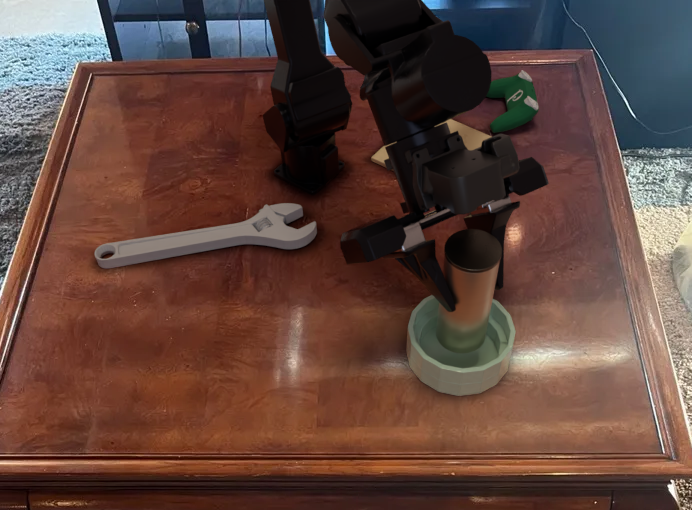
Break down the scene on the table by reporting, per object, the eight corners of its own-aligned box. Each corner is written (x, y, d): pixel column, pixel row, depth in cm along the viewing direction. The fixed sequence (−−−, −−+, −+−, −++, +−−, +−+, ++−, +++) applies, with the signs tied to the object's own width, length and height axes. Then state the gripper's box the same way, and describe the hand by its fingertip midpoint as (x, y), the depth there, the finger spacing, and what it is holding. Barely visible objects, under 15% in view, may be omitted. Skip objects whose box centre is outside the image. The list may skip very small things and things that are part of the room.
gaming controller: (506, 147, 104) (545, 119, 100) (487, 130, 102) (527, 101, 98) (497, 102, 109) (534, 75, 106) (480, 86, 107) (517, 57, 104)
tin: (425, 338, 79) (433, 253, 69) (453, 307, 81) (464, 220, 72) (468, 362, 77) (482, 278, 67) (495, 330, 79) (512, 244, 70)
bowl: (387, 364, 82) (387, 337, 78) (443, 302, 86) (446, 273, 83) (473, 416, 77) (478, 390, 74) (527, 347, 82) (534, 320, 79)
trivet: (370, 160, 101) (371, 157, 100) (425, 111, 106) (425, 107, 106) (452, 199, 96) (452, 195, 95) (505, 146, 101) (505, 142, 101)
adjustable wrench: (97, 271, 91) (92, 261, 90) (101, 232, 95) (97, 221, 94) (316, 247, 92) (315, 236, 90) (311, 209, 96) (310, 197, 94)
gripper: (353, 157, 60) (426, 348, 63) (555, 77, 65) (614, 258, 68) (310, 177, 71) (374, 339, 74) (486, 107, 76) (540, 262, 78)
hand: (475, 300), depth 73 cm, fingers closed on tin, 5 cm apart
